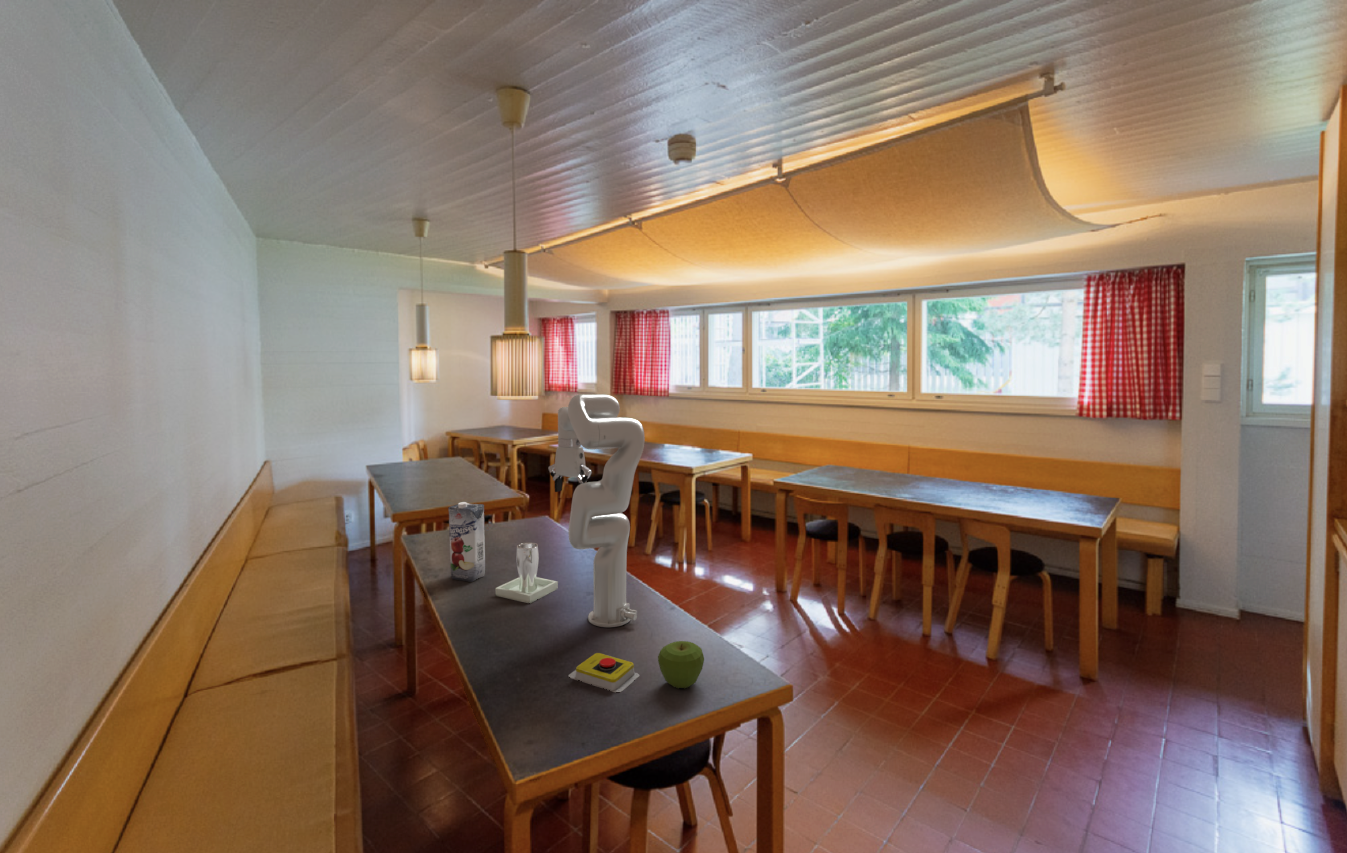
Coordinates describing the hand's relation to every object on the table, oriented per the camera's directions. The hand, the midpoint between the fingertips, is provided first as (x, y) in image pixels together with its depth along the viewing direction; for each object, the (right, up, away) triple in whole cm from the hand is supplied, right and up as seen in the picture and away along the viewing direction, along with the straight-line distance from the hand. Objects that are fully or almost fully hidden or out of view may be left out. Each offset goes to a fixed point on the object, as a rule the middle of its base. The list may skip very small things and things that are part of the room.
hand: (569, 492), depth 201 cm
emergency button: (+19, -37, -62) cm, 75 cm away
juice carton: (-36, -30, +3) cm, 47 cm away
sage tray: (-12, -31, -10) cm, 35 cm away
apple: (+37, -37, -65) cm, 84 cm away
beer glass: (-12, -31, -10) cm, 35 cm away
